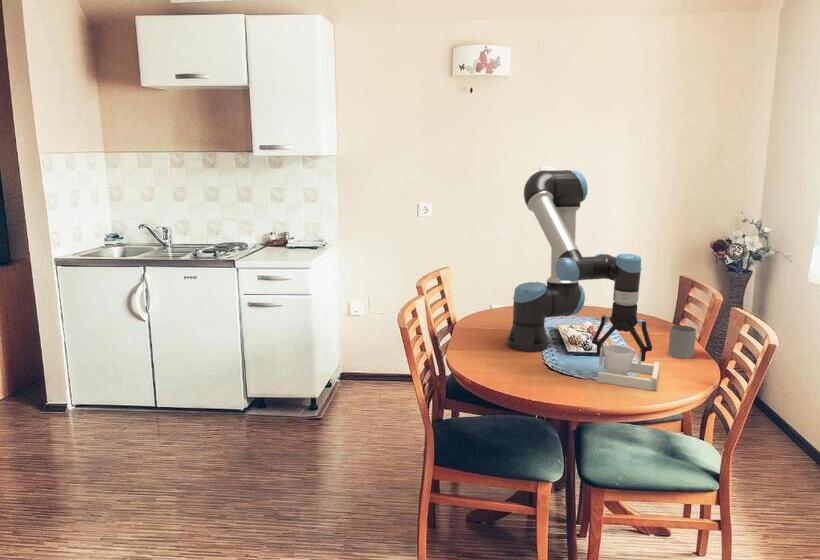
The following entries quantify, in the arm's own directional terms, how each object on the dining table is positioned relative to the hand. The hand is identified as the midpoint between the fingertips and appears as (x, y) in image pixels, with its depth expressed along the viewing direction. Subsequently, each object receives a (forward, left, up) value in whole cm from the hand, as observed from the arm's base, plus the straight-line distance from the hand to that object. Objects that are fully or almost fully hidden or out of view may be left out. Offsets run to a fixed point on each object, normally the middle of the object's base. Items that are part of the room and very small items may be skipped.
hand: (619, 367), depth 210 cm
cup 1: (-1, 0, -3) cm, 3 cm away
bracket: (+3, 0, -3) cm, 4 cm away
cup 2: (+18, +32, -3) cm, 37 cm away
